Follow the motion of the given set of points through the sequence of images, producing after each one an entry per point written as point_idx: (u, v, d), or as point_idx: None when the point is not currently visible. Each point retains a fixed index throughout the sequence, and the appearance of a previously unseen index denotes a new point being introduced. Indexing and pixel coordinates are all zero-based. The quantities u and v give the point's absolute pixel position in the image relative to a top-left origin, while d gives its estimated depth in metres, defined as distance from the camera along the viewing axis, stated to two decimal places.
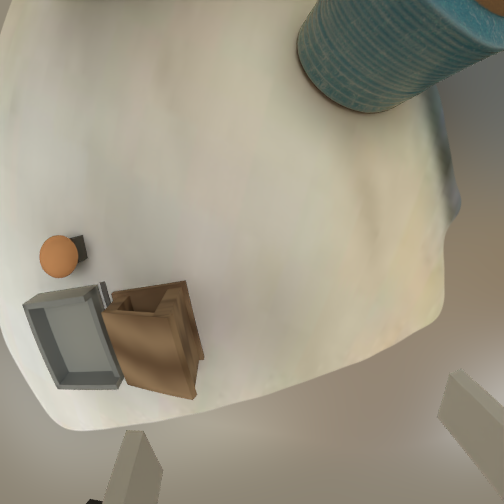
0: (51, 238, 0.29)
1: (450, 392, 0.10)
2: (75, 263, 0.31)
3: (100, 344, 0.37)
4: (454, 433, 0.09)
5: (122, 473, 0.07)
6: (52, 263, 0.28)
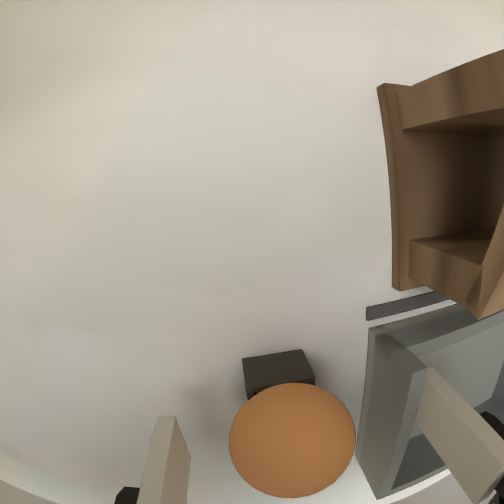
0: (234, 463, 0.09)
1: None
2: (322, 396, 0.10)
3: None
4: (425, 431, 0.10)
5: (158, 458, 0.08)
6: (314, 477, 0.08)
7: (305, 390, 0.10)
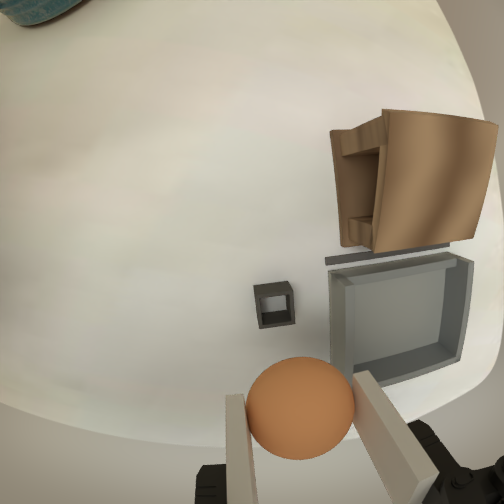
0: (250, 426, 0.12)
1: (355, 392, 0.12)
2: (325, 366, 0.12)
3: (411, 281, 0.27)
4: (360, 434, 0.11)
5: (237, 432, 0.10)
6: (319, 435, 0.10)
7: (311, 361, 0.12)
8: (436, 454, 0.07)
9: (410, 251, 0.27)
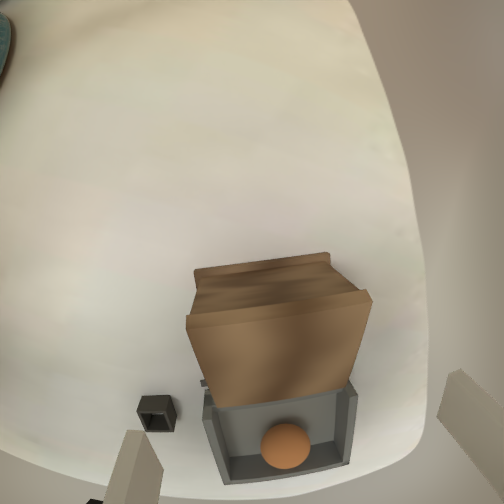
0: None
1: (449, 392, 0.10)
2: (301, 456, 0.24)
3: None
4: (454, 433, 0.09)
5: (123, 473, 0.08)
6: None
7: (295, 457, 0.23)
8: None
9: None
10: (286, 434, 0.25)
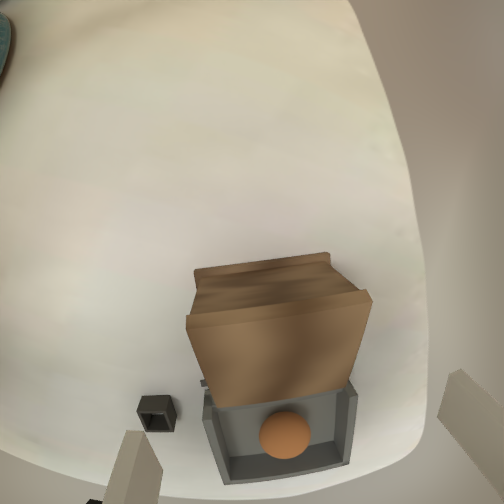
0: (262, 447, 0.25)
1: (450, 392, 0.10)
2: (299, 431, 0.24)
3: None
4: (454, 433, 0.09)
5: (122, 473, 0.07)
6: None
7: (293, 429, 0.24)
8: None
9: None
10: (283, 412, 0.26)
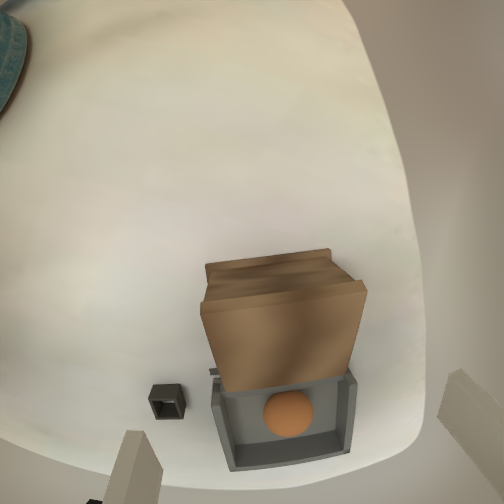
0: (266, 423, 0.26)
1: (450, 392, 0.10)
2: (300, 397, 0.26)
3: (296, 388, 0.29)
4: (454, 433, 0.09)
5: (122, 473, 0.07)
6: (296, 428, 0.25)
7: (294, 395, 0.27)
8: None
9: None
10: None
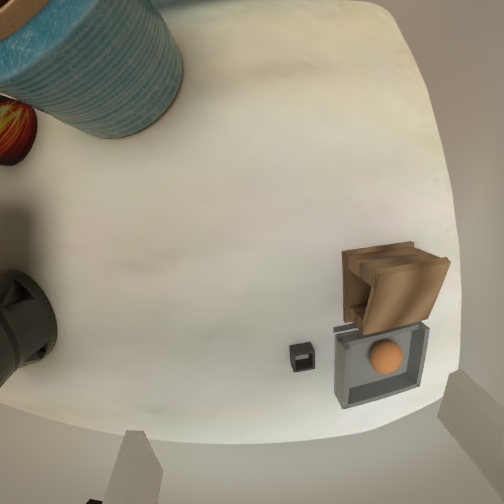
0: (375, 365, 0.38)
1: (450, 392, 0.10)
2: (396, 345, 0.38)
3: (387, 338, 0.42)
4: (454, 433, 0.09)
5: (122, 473, 0.07)
6: (395, 367, 0.37)
7: (393, 344, 0.38)
8: None
9: None
10: None
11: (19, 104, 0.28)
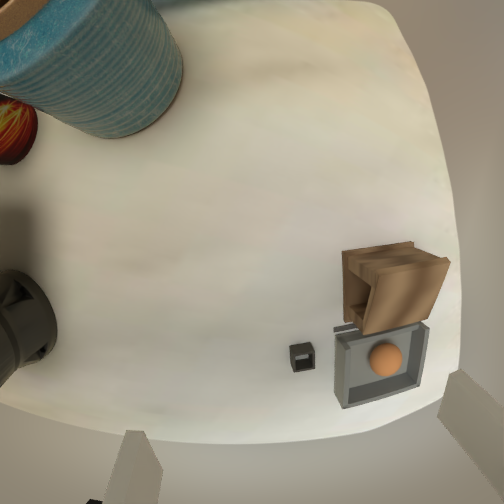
0: (374, 368, 0.39)
1: (450, 392, 0.10)
2: (397, 350, 0.38)
3: (387, 338, 0.42)
4: (454, 433, 0.09)
5: (122, 473, 0.07)
6: (394, 371, 0.38)
7: (394, 348, 0.38)
8: None
9: None
10: (383, 343, 0.41)
11: (19, 103, 0.28)
